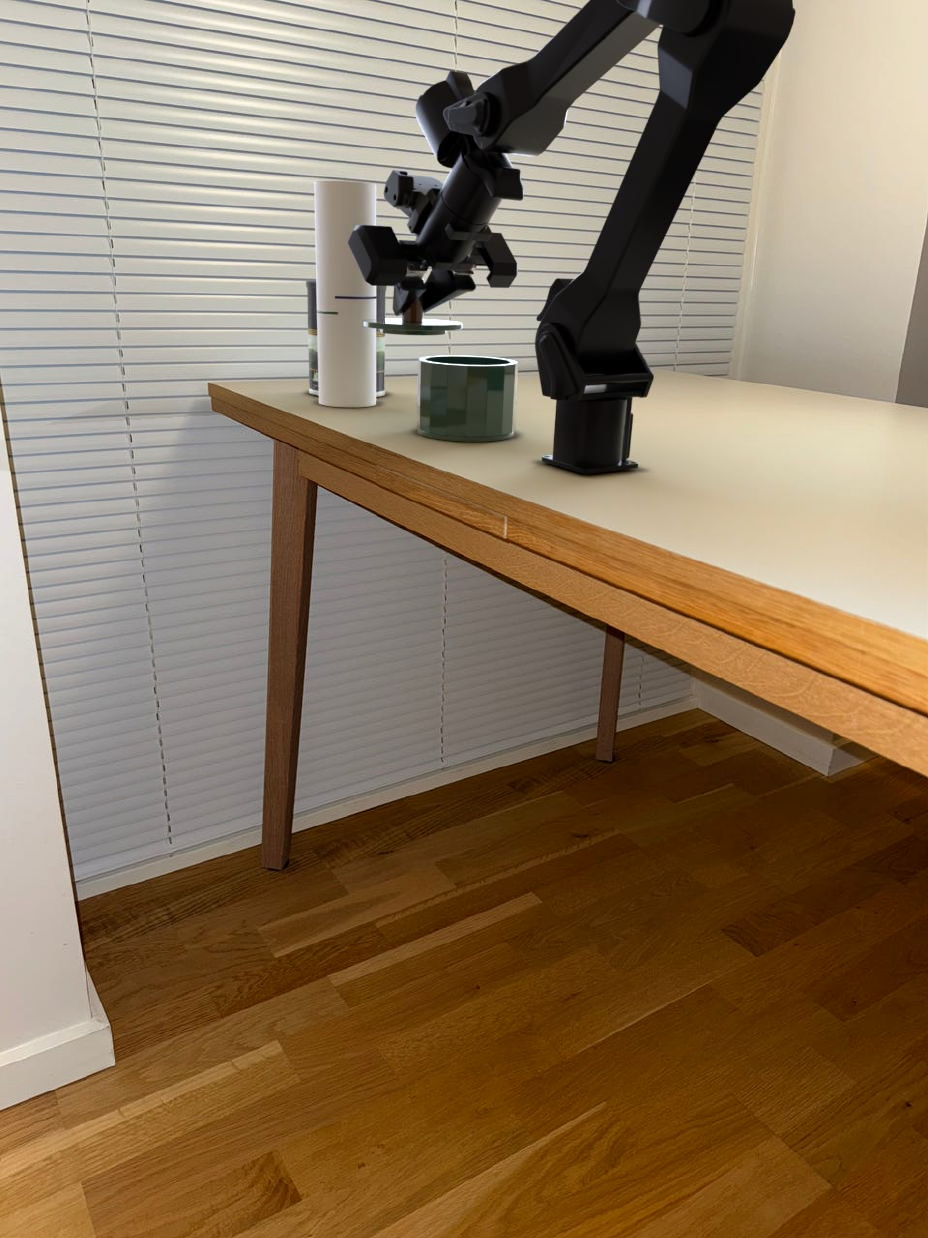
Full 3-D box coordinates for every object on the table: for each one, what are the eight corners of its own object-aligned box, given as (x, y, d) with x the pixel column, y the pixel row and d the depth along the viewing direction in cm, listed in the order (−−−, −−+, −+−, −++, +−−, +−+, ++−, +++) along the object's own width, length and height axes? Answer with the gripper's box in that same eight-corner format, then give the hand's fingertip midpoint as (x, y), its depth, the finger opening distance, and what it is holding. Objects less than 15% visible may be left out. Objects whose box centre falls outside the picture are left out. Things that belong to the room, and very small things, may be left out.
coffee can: (381, 400, 120) (381, 284, 115) (301, 397, 120) (298, 281, 115) (390, 390, 129) (390, 282, 124) (316, 387, 130) (314, 279, 125)
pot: (451, 444, 92) (453, 367, 90) (400, 428, 100) (401, 356, 98) (533, 437, 98) (537, 364, 95) (478, 422, 106) (481, 354, 103)
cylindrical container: (372, 408, 113) (372, 181, 104) (314, 406, 113) (309, 179, 104) (379, 400, 120) (379, 186, 111) (323, 398, 120) (319, 184, 111)
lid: (392, 337, 97) (393, 279, 95) (345, 329, 106) (344, 275, 104) (481, 336, 103) (483, 281, 101) (429, 328, 112) (430, 278, 110)
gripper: (507, 151, 100) (445, 259, 112) (355, 133, 90) (306, 254, 102) (550, 230, 97) (482, 333, 109) (399, 221, 87) (342, 335, 99)
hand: (405, 312), depth 105 cm, fingers closed on lid, 2 cm apart
